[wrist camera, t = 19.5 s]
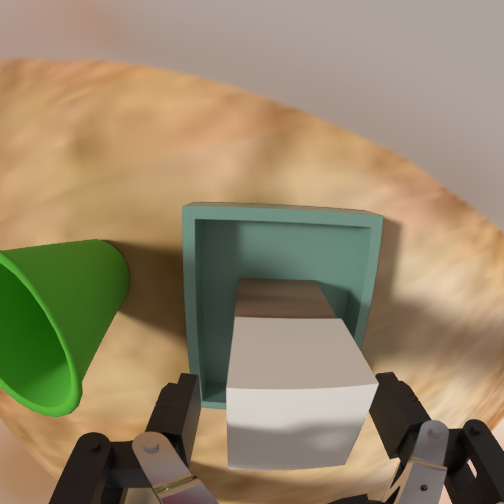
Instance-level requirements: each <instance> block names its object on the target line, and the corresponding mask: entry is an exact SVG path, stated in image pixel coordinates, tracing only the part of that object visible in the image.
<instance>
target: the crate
mask: <svg viewBox="0 0 504 504" xmlns="http://www.w3.org/2000/svg"><path fill="white" fill-rule="evenodd" d="M382 226H383V216H381V215H378V214H375V213H372V212H368V211H365V210H354V209H341V208H328V207H313V206H296V205H277V204H255V203H223V202H192V203H189V204H187V205H184V206H182V230H183V277H184V300H185V318H186V333H187V346H188V358H189V369H190V374H196V375H199V381H200V393H201V408H213V409H227V404H226V386H227V378H228V370H229V362H230V354H231V346H232V338H233V322H234V313H235V306H236V299H237V291H238V284H239V278H263V279H292V280H315V281H316V283H317V284H318V286H319V288H320V289H321V291H322V293H323V295H324V296H325V298H326V300H327V301H328V303H329V305H330V307H331V308H332V310H333V312H334V313H335V315H336V317H337V319H342V321H343V322H344V324H345V326H346V327H347V329H348V331H349V332H350V334H351V336H352V337H353V339H354V341H355V343H356V344H357V346H358V348H359V349H360V351H361V347H362V342H363V338H364V334H365V329H366V325H367V320H368V315H369V311H370V306H371V300H372V295H373V289H374V284H375V278H376V271H377V265H378V258H379V251H380V243H381V235H382Z"/></svg>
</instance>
